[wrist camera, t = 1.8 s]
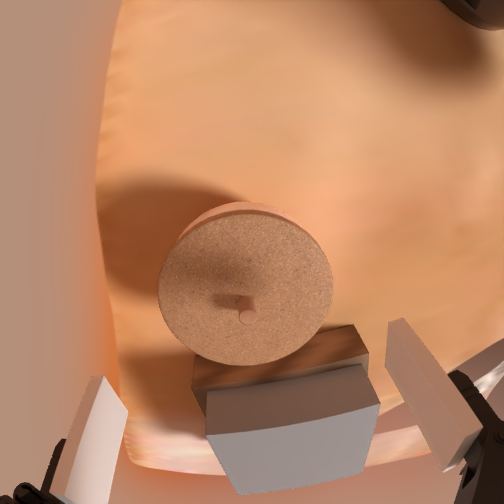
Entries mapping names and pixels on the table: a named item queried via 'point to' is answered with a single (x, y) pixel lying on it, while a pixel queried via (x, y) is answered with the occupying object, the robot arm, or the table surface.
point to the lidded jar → (245, 285)
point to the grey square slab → (293, 430)
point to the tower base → (283, 364)
